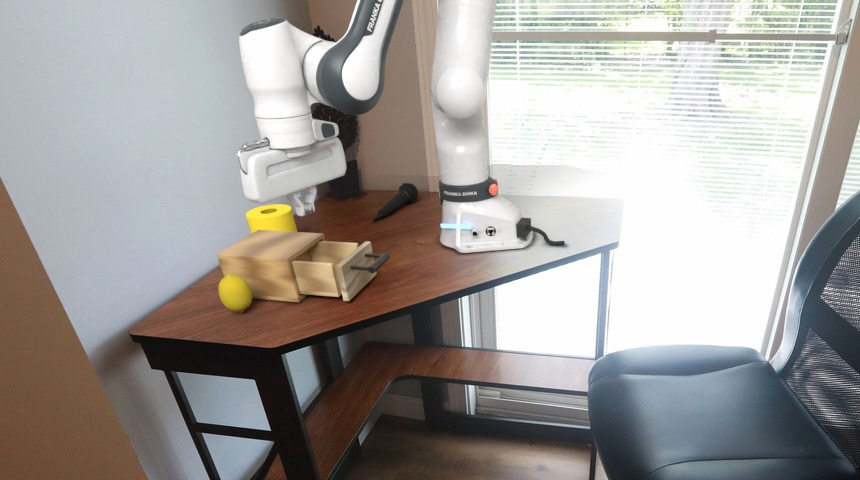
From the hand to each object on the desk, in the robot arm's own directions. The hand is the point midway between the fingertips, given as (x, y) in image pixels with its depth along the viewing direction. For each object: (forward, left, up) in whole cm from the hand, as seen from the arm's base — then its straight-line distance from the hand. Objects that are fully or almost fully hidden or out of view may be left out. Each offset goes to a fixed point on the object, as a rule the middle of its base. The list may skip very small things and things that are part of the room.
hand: (306, 213), depth 102 cm
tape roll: (+21, -26, -18) cm, 38 cm away
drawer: (-2, -5, -17) cm, 17 cm away
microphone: (0, -54, -18) cm, 57 cm away
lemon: (+15, +5, -18) cm, 24 cm away
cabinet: (+12, -7, -18) cm, 22 cm away
